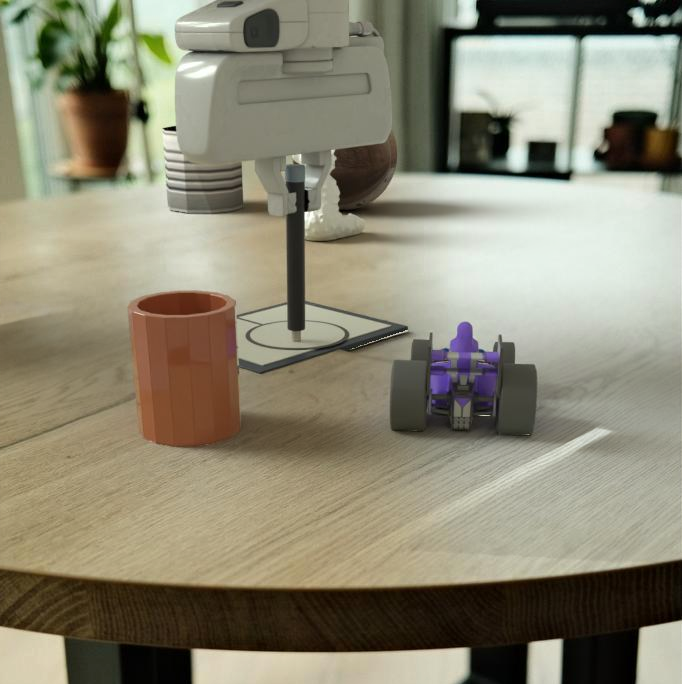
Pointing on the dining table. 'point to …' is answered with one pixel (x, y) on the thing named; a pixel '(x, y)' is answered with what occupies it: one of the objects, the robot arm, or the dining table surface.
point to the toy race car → (463, 385)
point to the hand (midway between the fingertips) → (294, 213)
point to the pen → (296, 252)
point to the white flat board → (303, 335)
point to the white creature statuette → (329, 213)
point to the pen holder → (185, 367)
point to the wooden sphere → (364, 172)
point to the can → (199, 181)
